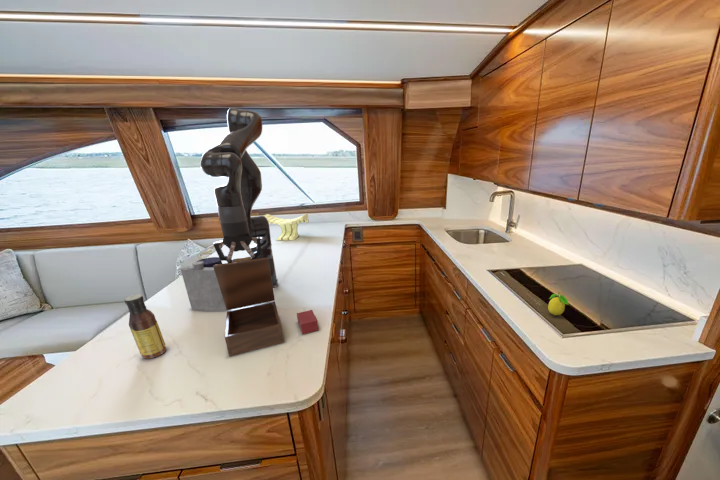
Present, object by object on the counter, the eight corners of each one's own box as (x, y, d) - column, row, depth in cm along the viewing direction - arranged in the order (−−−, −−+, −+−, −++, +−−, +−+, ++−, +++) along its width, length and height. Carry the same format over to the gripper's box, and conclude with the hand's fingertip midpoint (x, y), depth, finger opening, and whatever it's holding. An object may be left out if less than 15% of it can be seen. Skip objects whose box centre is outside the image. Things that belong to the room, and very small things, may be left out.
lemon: (565, 321, 107) (570, 296, 104) (547, 318, 109) (551, 294, 106) (562, 312, 113) (567, 289, 110) (545, 310, 115) (549, 286, 112)
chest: (283, 342, 97) (280, 324, 95) (229, 356, 91) (224, 337, 88) (277, 317, 113) (275, 301, 111) (231, 327, 106) (226, 310, 104)
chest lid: (268, 258, 98) (266, 250, 102) (213, 266, 92) (213, 257, 95) (275, 300, 110) (273, 291, 114) (226, 310, 104) (226, 300, 107)
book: (318, 330, 104) (317, 320, 103) (302, 334, 102) (300, 324, 100) (313, 319, 111) (312, 309, 110) (298, 322, 109) (296, 313, 108)
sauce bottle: (151, 348, 95) (131, 292, 88) (171, 347, 96) (153, 291, 89) (136, 361, 89) (113, 301, 82) (158, 359, 90) (137, 300, 83)
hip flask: (231, 307, 121) (221, 261, 115) (225, 312, 117) (213, 264, 111) (195, 306, 123) (183, 260, 116) (188, 310, 119) (174, 263, 112)
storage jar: (233, 289, 139) (226, 258, 134) (213, 297, 130) (205, 265, 125) (219, 285, 143) (211, 256, 138) (198, 293, 134) (190, 262, 129)
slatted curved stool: (310, 234, 239) (307, 212, 233) (305, 239, 224) (302, 216, 218) (272, 235, 237) (268, 213, 231) (264, 240, 222) (260, 217, 216)
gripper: (257, 215, 100) (266, 262, 106) (208, 220, 94) (219, 269, 100) (258, 219, 94) (267, 269, 100) (205, 224, 88) (218, 277, 94)
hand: (243, 269), depth 100 cm, fingers closed on chest lid, 5 cm apart
